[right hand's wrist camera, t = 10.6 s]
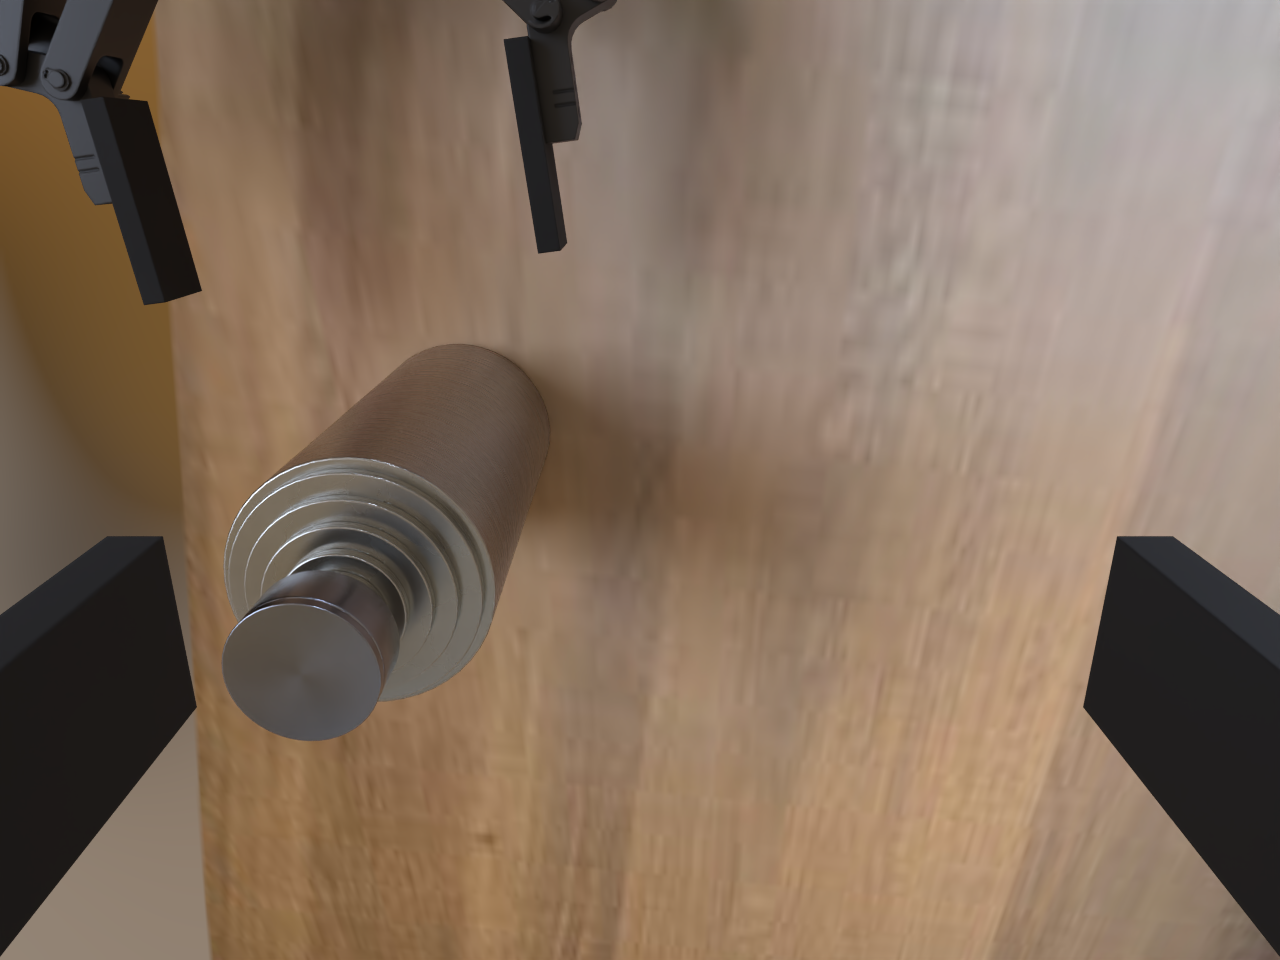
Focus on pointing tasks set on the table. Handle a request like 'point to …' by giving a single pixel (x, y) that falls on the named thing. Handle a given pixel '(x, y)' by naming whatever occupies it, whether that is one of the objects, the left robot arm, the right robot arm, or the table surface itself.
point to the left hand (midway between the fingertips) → (362, 274)
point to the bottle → (408, 505)
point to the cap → (311, 656)
